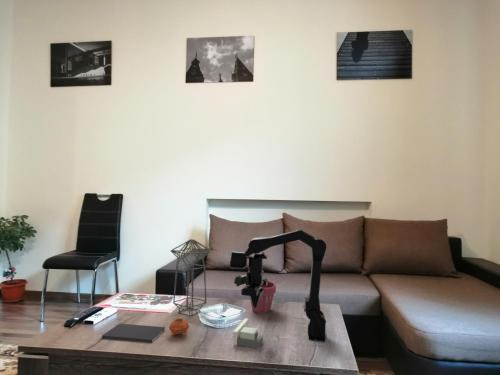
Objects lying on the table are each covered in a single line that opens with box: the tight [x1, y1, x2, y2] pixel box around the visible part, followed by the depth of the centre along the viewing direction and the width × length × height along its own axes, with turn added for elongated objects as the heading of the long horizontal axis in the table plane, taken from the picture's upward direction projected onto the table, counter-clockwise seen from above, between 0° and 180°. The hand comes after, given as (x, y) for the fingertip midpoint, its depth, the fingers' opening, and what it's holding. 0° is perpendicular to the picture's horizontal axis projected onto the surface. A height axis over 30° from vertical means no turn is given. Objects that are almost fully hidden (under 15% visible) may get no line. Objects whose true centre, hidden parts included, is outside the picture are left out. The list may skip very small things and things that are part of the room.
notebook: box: [101, 323, 166, 344], centre depth 139 cm, size 13×2×21 cm
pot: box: [168, 317, 190, 337], centre depth 139 cm, size 8×8×7 cm
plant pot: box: [246, 280, 277, 314], centre depth 169 cm, size 14×14×13 cm
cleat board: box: [232, 317, 264, 350], centre depth 135 cm, size 10×14×5 cm
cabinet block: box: [240, 327, 259, 340], centre depth 131 cm, size 6×5×5 cm
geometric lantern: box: [170, 238, 213, 317], centre depth 166 cm, size 16×16×35 cm
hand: (255, 307), depth 139 cm, fingers closed
